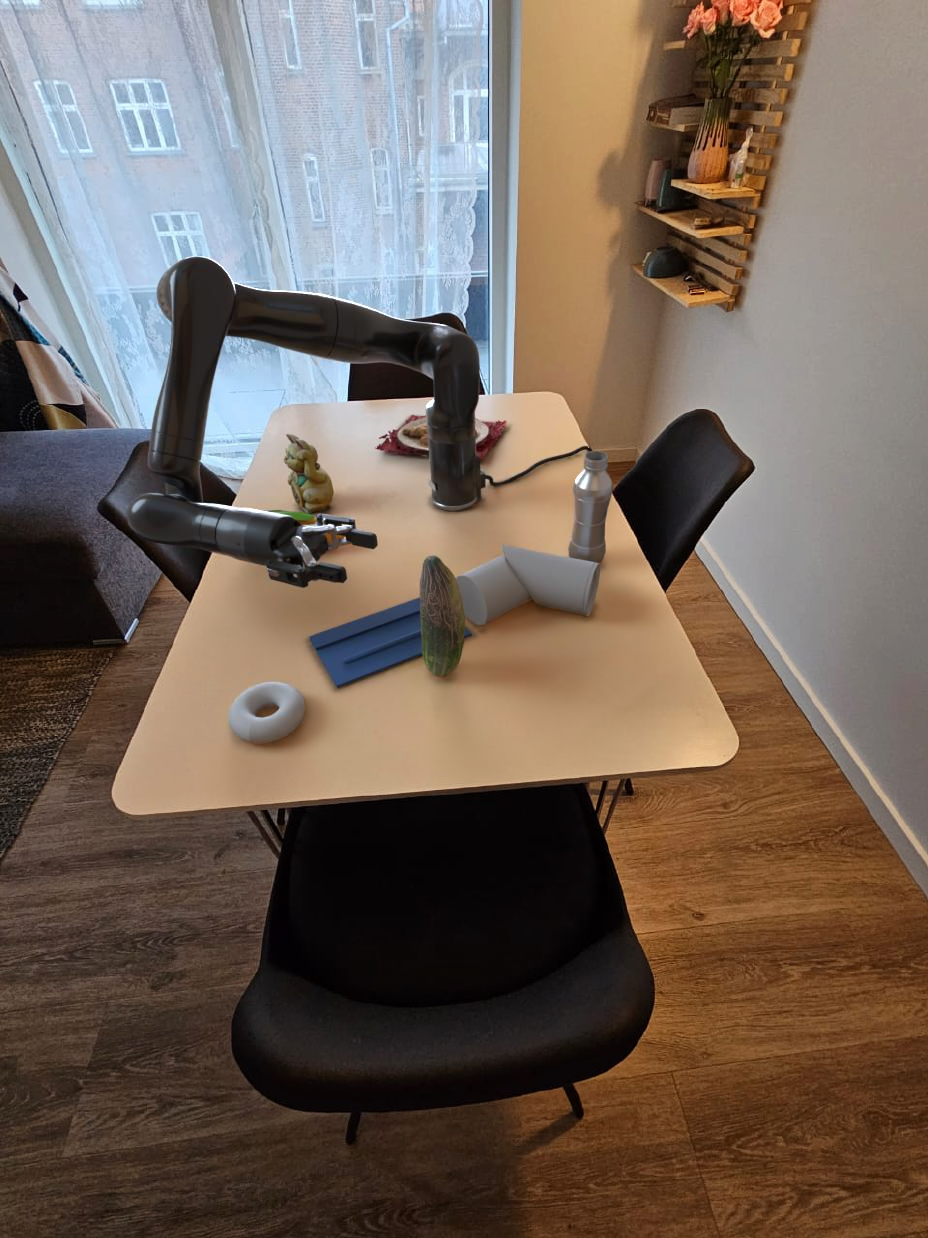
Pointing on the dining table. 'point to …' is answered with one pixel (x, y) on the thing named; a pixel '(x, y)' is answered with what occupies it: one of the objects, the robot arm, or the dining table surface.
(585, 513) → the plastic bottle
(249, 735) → the donut
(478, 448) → the plate with food
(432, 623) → the vegetable
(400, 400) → the dining table surface
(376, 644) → the blue rectangular panel
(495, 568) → the elbow connector
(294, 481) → the decorative figurine
